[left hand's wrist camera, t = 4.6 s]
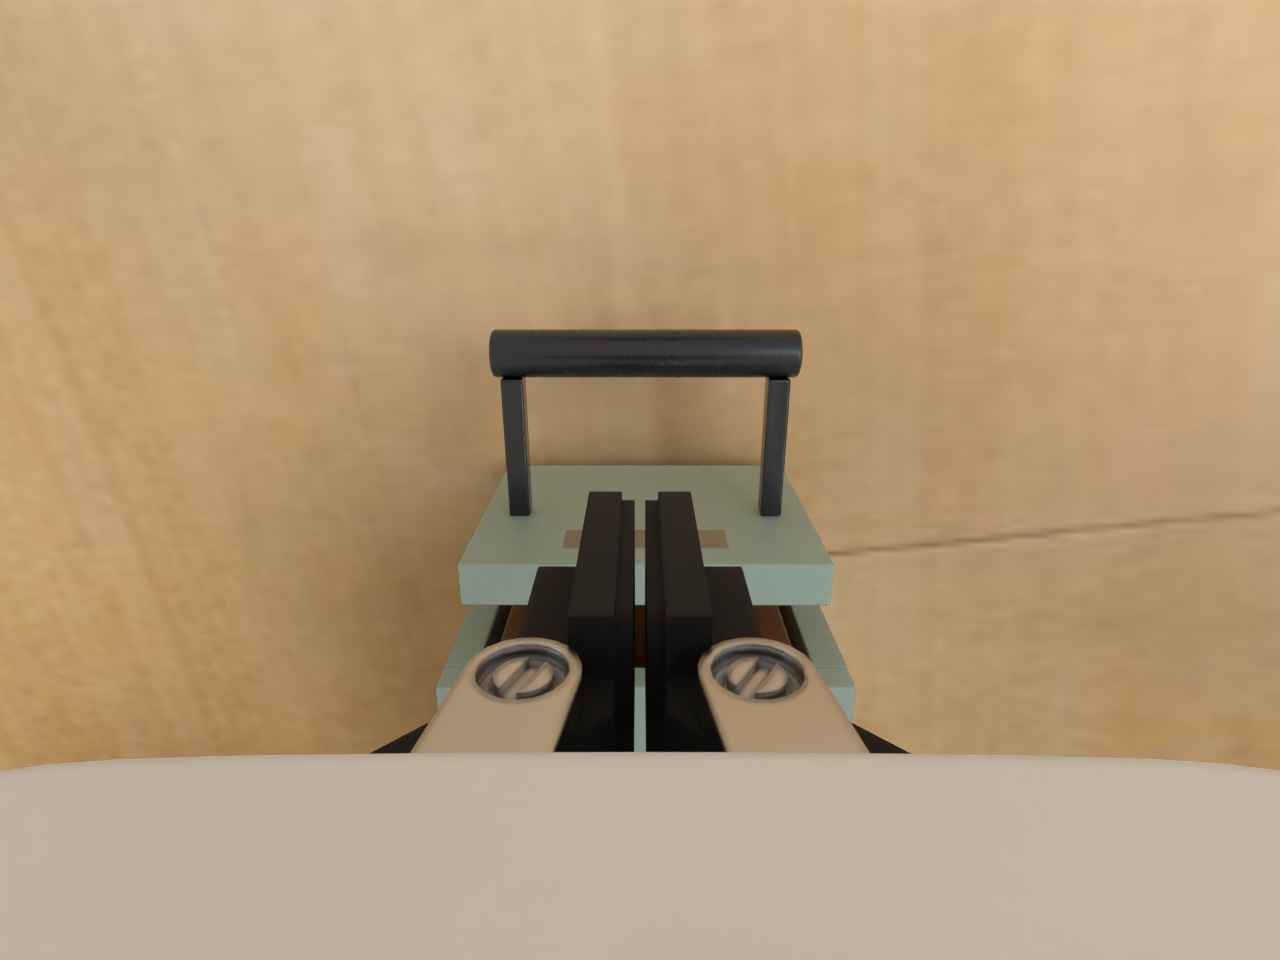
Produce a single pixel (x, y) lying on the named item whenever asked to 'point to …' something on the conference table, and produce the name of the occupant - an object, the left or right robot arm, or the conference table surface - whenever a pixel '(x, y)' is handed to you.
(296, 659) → the conference table surface
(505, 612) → the cabinet
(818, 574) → the drawer
